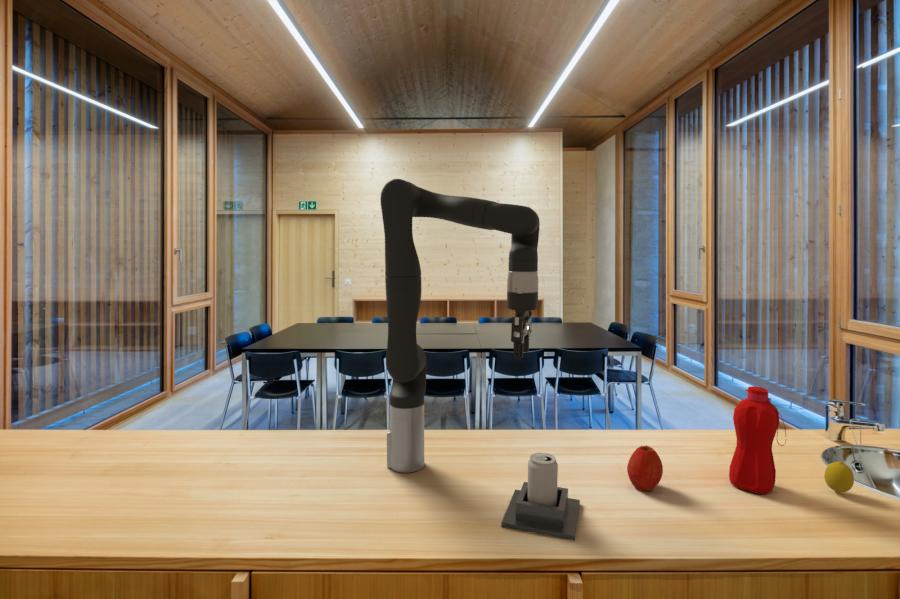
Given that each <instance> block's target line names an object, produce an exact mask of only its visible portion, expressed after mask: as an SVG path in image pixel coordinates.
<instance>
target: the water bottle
mask: <svg viewBox="0 0 900 599" xmlns="http://www.w3.org/2000/svg"><path fill="white" fill-rule="evenodd" d="M744 391H745V392H747V393H746V394H747V396H746V398H744V399H741V400H740V401H739V402H738V404H737V405H736V406H735V408H734V410H733V417H732V421H733V425H734V426H733V427H734V431H735V437H736V447H735V450H734V452H733V454H732V458H731V462H730V464H729V471H728V477H729V482H730V484H732V486H734V487H736V488H737V489H741V490H744V491H748V492H750V493H754V494H758V495H768V494H769V493H771V492H773V490H774V488H775V486H776V476H777V475H776V474H777V473H776V465H775V460H774V453H773V443H774V440H775V437H776V436H778V434H779V425H780V417H781V420H782V424H783V427H784V428H783V429H784V434H785V436H787V430H786V426H785V422H784V419H783V416H782V415H781V413H780V412H779V410H778V408H777V407H776V405H774V404H773V403H772V401H771V399H772V398H771V397H769V390H768V389H767V388H765V387H762V386H755V385H753V386H748V387H747V389H745V390H744ZM776 442H777V444H778V446H781V447H783V446H785V444H786V442H787V440H785V442H784V443H783V444H780V443H779V440H778V439H776Z"/></svg>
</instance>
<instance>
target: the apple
mask: <svg viewBox="0 0 900 599" xmlns="http://www.w3.org/2000/svg"><path fill="white" fill-rule="evenodd" d="M628 459H629V460H628V463H627V467H626V469H627V471H626V472H627V476H628V479H629V480H630V482H631V484H632V486H633V487H634V488H636V489H638V490H640V491H644V492H645V491H651V490H654V489H655V488H656V487H657V486H658V485H659V483H660V482H661V480H662V477H663V474H664V467H663V462H662V460H661V458H660V456H659V454H658V453H657V452H656V450H655V449H654V448H653V447H651V446H649V445H641V446H638V447H637V448H636V449H635V450H634V451H633V452H632V454H631V455H630V457H629V458H628Z"/></svg>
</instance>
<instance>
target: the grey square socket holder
mask: <svg viewBox="0 0 900 599" xmlns="http://www.w3.org/2000/svg"><path fill="white" fill-rule="evenodd" d="M527 499H528V481H523V483H522V487H521V489H515V490H514V492H513V493H512V496H511V499H510V501H509V503H508V506H507V509H506V510H505V513H504V516H503V518H502V521H500V522H501V523H500V524H501V525H500V526H501V528H504V529H505V528H506V529H510V530H516V531H521V532H527V533H531V534H537V535H543V536H547V537H548V536H549V537H553V538H559V539H565V540H570V541H575V540H576V533H577V526H578V521H579V520H578V518H579V513H580V512H579V511H580V504H581V499H578V498H577V499H576V498H571V497H569V488H565V487H561V486H557V507H555V506H549V505H544V504H538V503H532V502H527Z"/></svg>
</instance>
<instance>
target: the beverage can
mask: <svg viewBox="0 0 900 599" xmlns="http://www.w3.org/2000/svg"><path fill="white" fill-rule="evenodd" d="M558 469H559V465H558V462H557V458H556V456H554V455H553V454H550V453H547V452H536V453H535V452H534V453H533V454H531V455H530V456H529V460H528V462H527V482H528V499H527V502H532V503H538V504H544V505H549V506H555V507H557V487H558V477H559V476H558V474H559V473H558V471H559V470H558Z"/></svg>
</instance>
